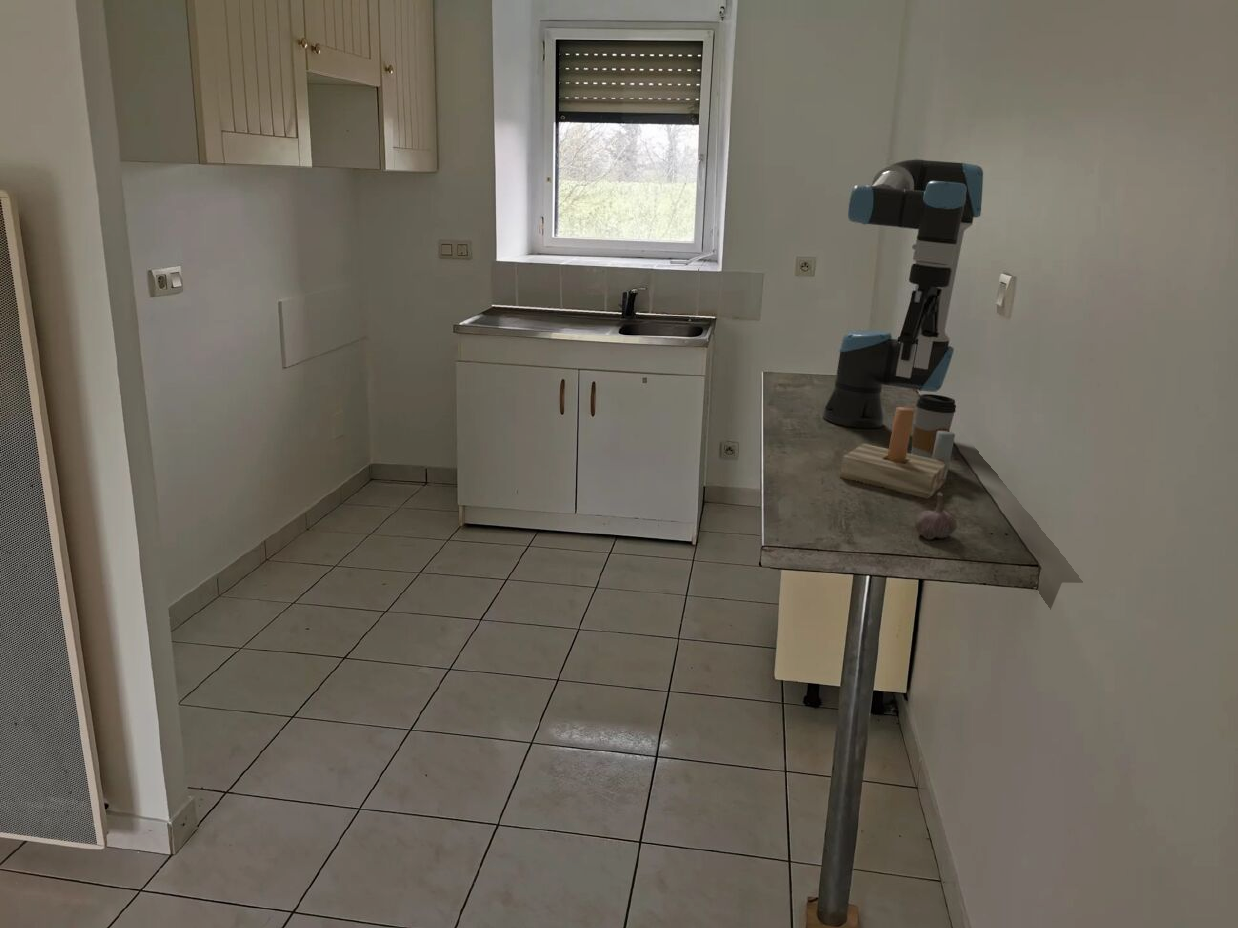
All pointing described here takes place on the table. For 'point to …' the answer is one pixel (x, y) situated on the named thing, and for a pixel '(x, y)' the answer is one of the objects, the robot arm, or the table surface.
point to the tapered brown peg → (900, 435)
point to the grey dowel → (943, 446)
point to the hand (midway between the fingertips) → (912, 372)
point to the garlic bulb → (935, 522)
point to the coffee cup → (931, 422)
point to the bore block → (894, 471)
